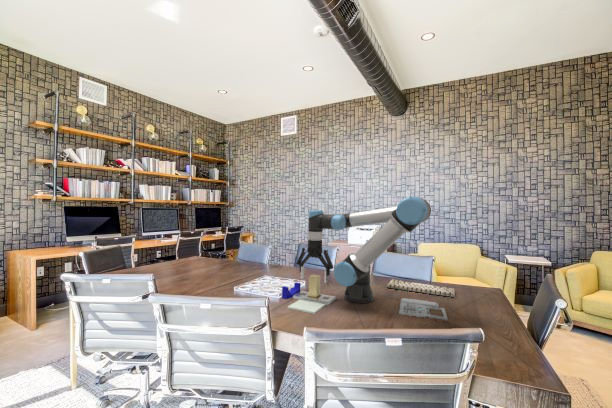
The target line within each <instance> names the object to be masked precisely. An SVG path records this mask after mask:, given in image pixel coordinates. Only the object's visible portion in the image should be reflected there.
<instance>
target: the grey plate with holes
mask: <svg viewBox="0 0 612 408" xmlns="http://www.w3.org/2000/svg"><path fill="white" fill-rule="evenodd" d="M292 299H293V300H297V301H298V300H304V301H310V302H315V303H321V304H325V306H330V305H331V304H332V303H333V302H335V301H336V300H337V296H335V295H329V294H323V293H320V297H319V298H311V297H309V291H305V290H300V292H299V293H297V294H295V295H293V297H292Z"/></svg>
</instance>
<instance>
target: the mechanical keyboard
mask: <svg viewBox="0 0 612 408" xmlns="http://www.w3.org/2000/svg"><path fill="white" fill-rule="evenodd" d="M386 288H388V289H394V290H398V291H399V290H401V291H402V292H401V293H404V292H403V291H407V292H408V291H409V292H415V293H422V294H429V295H436V296H435V297H438V296H443V297H442V298H445V297H451V298H450V299H452V298H454V297H455V296H456V292H455V288H453V287H446V286H439V285H434V284H433V285H432V284H426V283H420V282H419V283H418V282H409V281H403V280H401V279H400V280H399V279H394V278H392V279H391V280H390V281H389V282H388V283H387V284H386ZM388 289H387V290H388ZM398 291H397V292H398Z"/></svg>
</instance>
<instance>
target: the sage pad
mask: <svg viewBox="0 0 612 408" xmlns="http://www.w3.org/2000/svg"><path fill="white" fill-rule="evenodd" d="M325 306H326V305H325V304H321V303H315V302H310V301H304V300H298V299H297V300H296V301H295V302H293V303H291V304H289V305H288V306H287V307H286V308H287V309H288V310H293V311H298V312H304V313H307V314H312V315H315V314H316V313H318V312H319V311H321V310H322V309H323V308H324V307H325Z"/></svg>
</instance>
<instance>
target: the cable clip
mask: <svg viewBox="0 0 612 408" xmlns="http://www.w3.org/2000/svg"><path fill="white" fill-rule="evenodd" d="M301 285H302V284H301V282H297V281H296V282H294V285H293V287H291V288H290V289H289V287H288V286H285V285H284V286H282V287H281V289H282V290H281V299H284V300H288V299H291V298H293V295H295V294H297V293H299V292H301Z"/></svg>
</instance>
